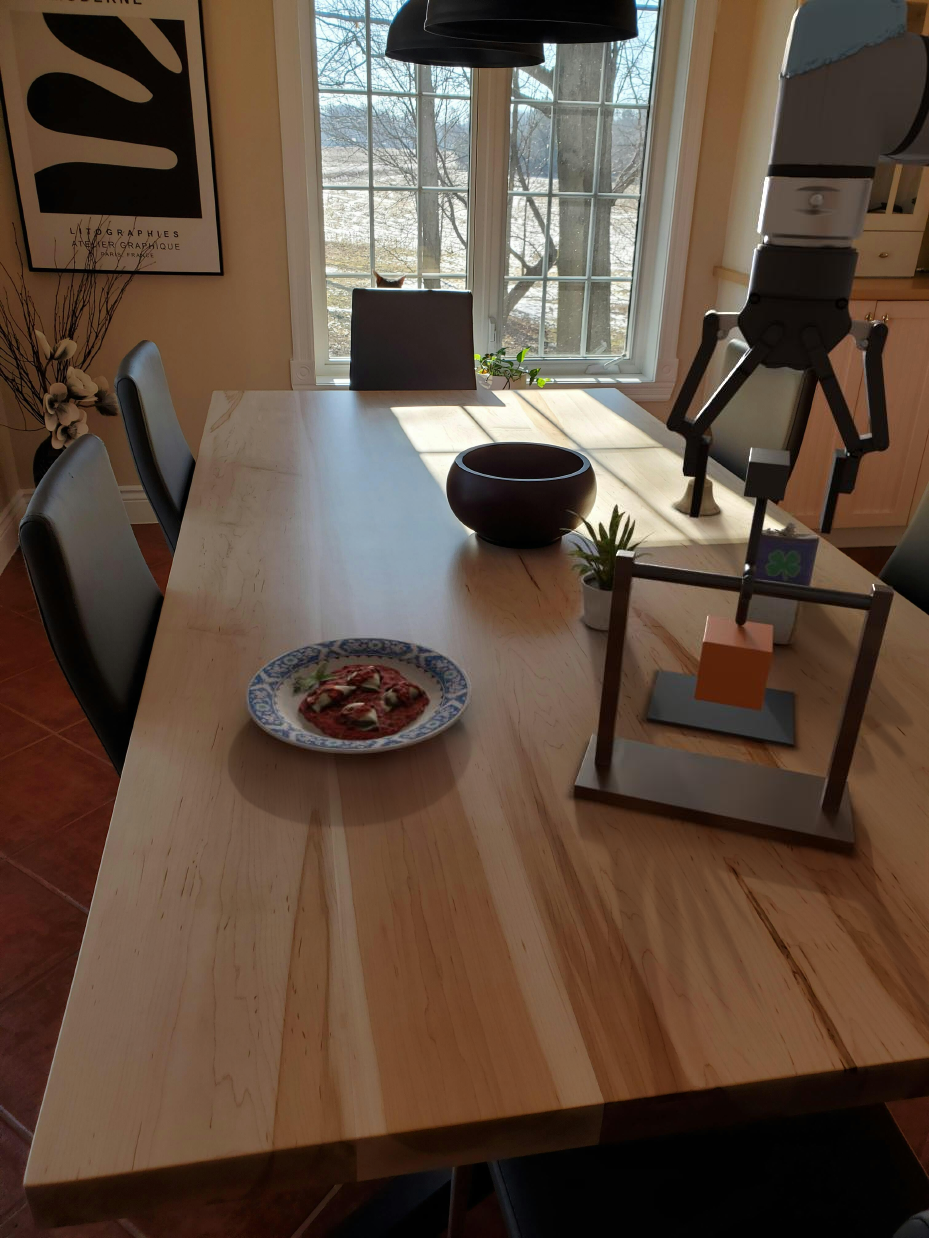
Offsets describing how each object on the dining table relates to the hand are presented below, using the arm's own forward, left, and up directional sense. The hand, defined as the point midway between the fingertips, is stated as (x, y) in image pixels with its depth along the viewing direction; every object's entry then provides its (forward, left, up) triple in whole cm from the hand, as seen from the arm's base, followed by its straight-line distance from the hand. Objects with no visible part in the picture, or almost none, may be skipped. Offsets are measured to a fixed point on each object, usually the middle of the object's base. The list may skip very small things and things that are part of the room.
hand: (758, 520), depth 78 cm
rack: (0, 0, -29) cm, 29 cm away
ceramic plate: (+40, -4, -29) cm, 50 cm away
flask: (-6, -57, -29) cm, 64 cm away
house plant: (+18, -37, -29) cm, 51 cm away
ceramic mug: (-4, -40, -29) cm, 50 cm away
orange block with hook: (0, 0, -17) cm, 17 cm away
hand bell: (+9, -92, -29) cm, 97 cm away
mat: (0, -18, -29) cm, 34 cm away
